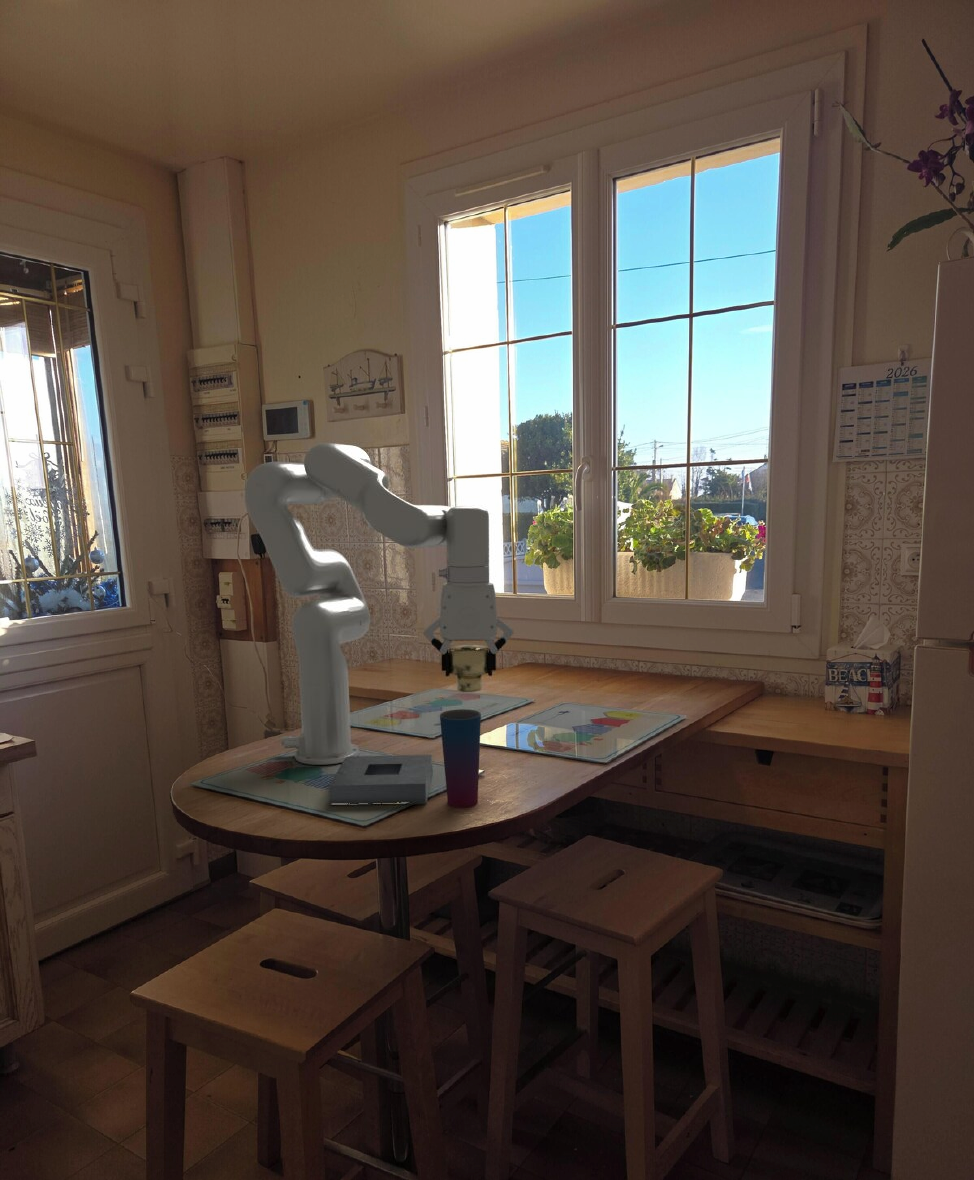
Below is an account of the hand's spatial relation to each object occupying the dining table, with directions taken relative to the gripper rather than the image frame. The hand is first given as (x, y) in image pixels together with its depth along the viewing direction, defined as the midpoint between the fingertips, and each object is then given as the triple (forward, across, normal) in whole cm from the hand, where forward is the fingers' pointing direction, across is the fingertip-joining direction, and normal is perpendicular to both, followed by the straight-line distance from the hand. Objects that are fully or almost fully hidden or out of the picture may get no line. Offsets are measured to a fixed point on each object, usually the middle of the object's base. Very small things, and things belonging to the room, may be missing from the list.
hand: (468, 673), depth 145 cm
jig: (+19, -15, -4) cm, 25 cm away
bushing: (+3, 0, 0) cm, 3 cm away
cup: (+19, -1, -12) cm, 23 cm away
